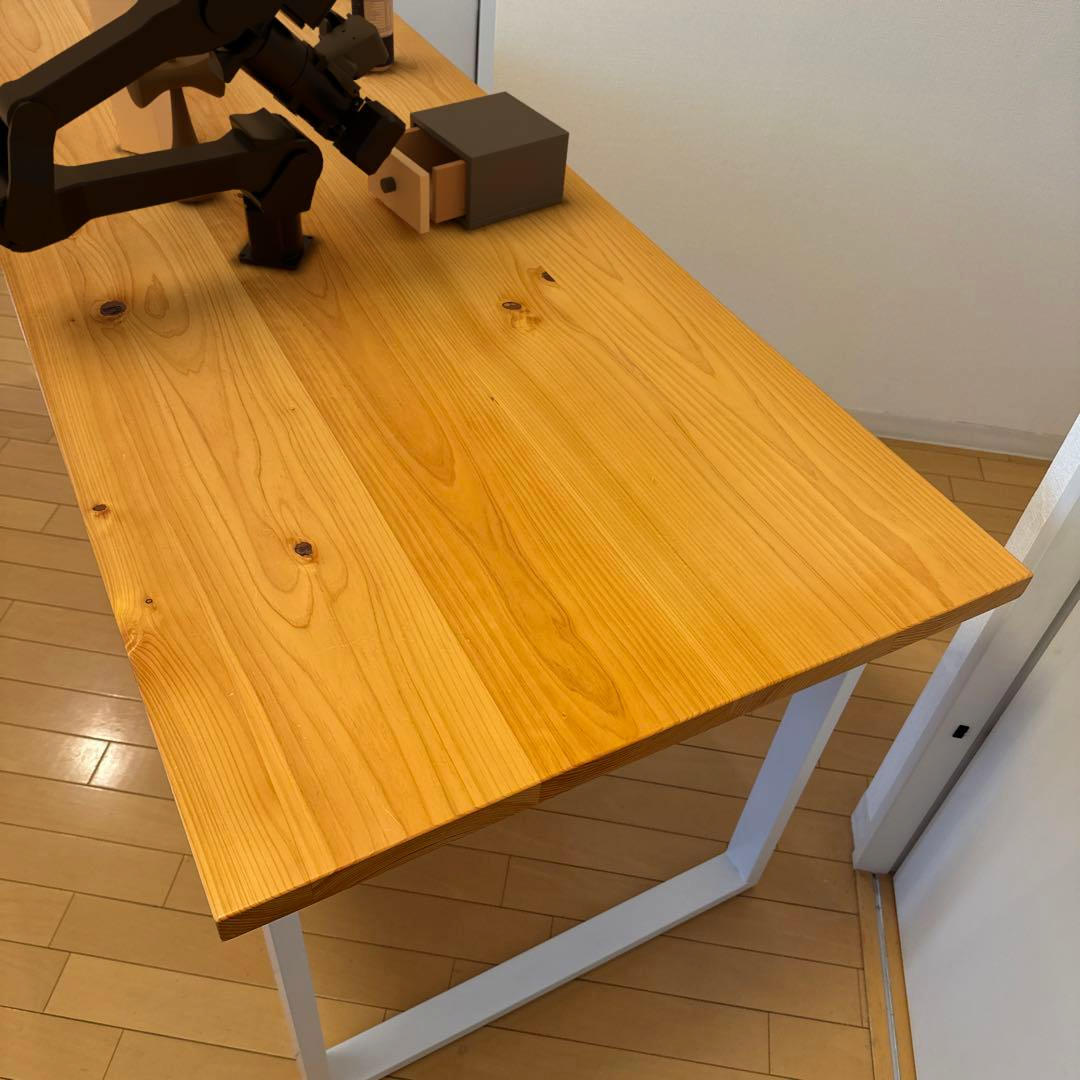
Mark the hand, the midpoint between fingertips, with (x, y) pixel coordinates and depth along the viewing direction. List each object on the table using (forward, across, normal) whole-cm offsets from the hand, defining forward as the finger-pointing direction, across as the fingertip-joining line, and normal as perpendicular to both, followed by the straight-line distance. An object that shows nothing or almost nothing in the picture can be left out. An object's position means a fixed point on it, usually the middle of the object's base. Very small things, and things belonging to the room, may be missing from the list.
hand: (387, 153), depth 110 cm
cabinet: (+15, 0, -4) cm, 16 cm away
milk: (-5, +29, +17) cm, 34 cm away
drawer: (+9, 0, +1) cm, 9 cm away
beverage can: (+20, +39, -9) cm, 45 cm away
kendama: (-6, +16, +17) cm, 24 cm away
